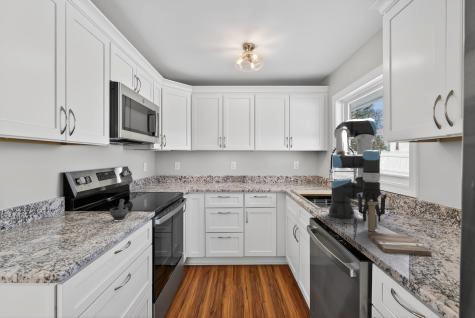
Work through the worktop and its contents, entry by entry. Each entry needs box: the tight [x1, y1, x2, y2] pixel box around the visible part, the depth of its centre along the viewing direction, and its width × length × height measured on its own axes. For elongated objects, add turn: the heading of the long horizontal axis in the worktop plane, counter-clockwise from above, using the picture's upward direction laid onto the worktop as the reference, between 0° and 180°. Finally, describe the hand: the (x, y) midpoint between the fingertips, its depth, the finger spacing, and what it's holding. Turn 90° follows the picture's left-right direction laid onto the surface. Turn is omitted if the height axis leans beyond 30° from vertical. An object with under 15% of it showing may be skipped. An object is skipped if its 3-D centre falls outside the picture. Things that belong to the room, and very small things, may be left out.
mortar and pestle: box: [109, 198, 129, 221], centre depth 144 cm, size 11×9×12 cm
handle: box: [363, 200, 379, 233], centre depth 119 cm, size 5×6×15 cm
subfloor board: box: [367, 231, 432, 256], centre depth 101 cm, size 20×16×2 cm
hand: (371, 227), depth 119 cm, fingers closed on handle, 4 cm apart
